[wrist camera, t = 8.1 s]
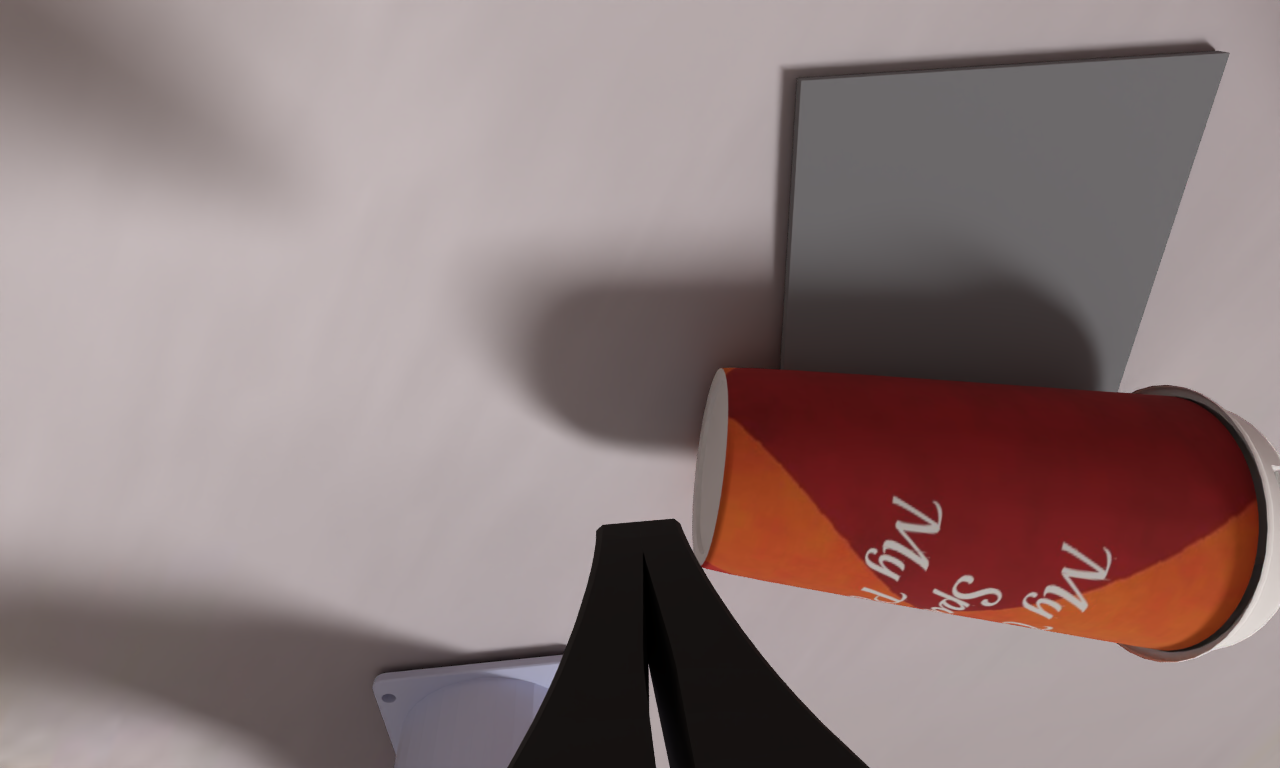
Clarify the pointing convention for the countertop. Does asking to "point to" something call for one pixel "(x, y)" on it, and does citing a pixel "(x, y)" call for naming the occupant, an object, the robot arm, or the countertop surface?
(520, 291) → the countertop surface
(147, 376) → the countertop surface
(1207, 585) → the paper cup
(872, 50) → the countertop surface
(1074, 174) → the mat
